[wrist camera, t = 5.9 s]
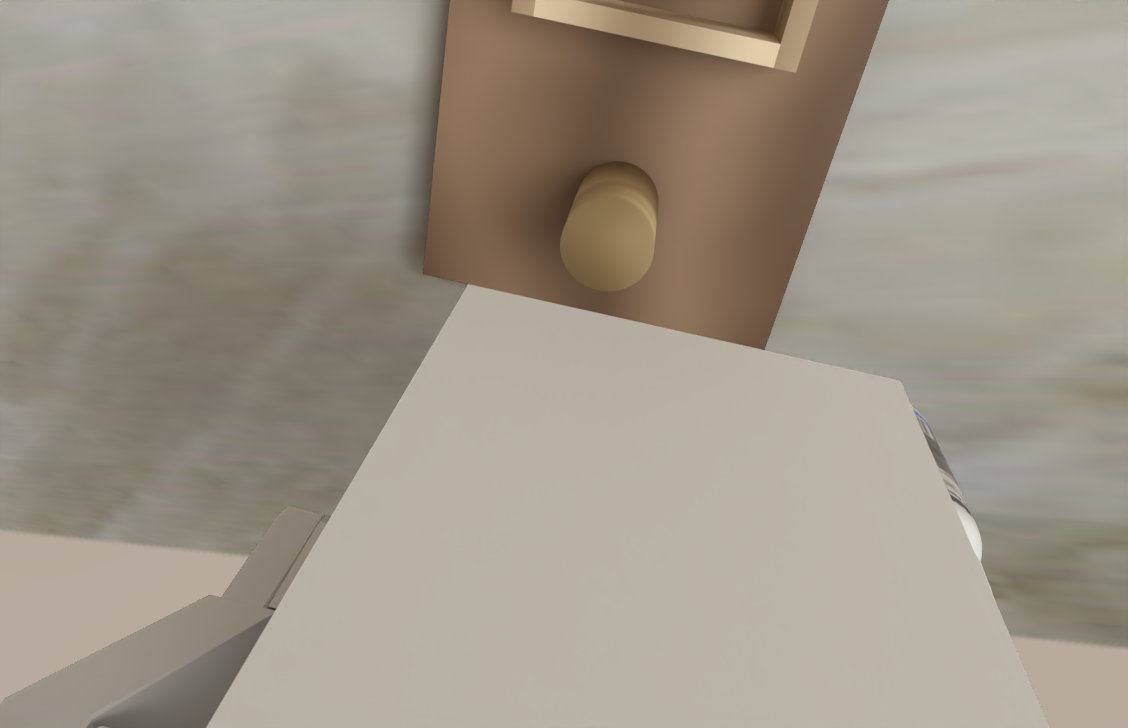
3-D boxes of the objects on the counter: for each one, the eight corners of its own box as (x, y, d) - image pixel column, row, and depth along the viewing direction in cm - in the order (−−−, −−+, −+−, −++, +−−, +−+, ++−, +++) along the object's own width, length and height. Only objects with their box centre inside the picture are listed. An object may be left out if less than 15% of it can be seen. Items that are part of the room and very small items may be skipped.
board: (968, -258, 20) (1049, -303, 16) (761, 333, 29) (775, 413, 24) (496, -355, 20) (443, -426, 16) (432, 260, 29) (385, 326, 24)
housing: (900, 381, 11) (1154, 969, 5) (766, 670, 14) (821, 1252, 8) (468, 283, 11) (200, 738, 5) (429, 590, 14) (233, 1099, 8)
